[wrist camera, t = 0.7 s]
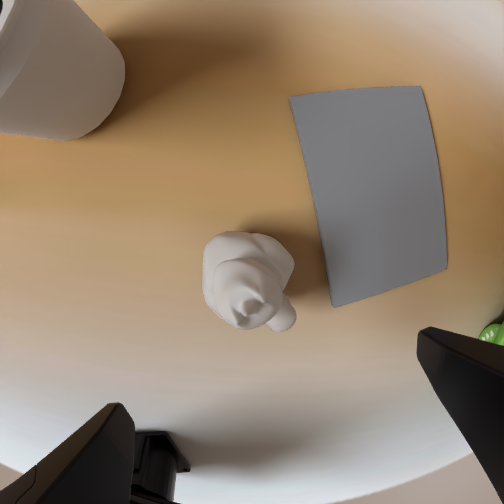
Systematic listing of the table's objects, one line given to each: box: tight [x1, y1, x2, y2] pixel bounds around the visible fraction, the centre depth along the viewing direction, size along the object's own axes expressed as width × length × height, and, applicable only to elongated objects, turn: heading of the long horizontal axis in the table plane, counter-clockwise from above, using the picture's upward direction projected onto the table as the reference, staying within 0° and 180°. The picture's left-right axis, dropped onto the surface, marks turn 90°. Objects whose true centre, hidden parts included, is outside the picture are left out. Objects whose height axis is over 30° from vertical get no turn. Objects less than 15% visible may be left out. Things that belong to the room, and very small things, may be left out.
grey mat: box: [289, 86, 447, 308], centre depth 18 cm, size 14×10×1 cm
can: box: [0, 0, 125, 141], centre depth 10 cm, size 8×8×12 cm
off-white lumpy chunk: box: [202, 231, 296, 332], centre depth 16 cm, size 5×7×8 cm
